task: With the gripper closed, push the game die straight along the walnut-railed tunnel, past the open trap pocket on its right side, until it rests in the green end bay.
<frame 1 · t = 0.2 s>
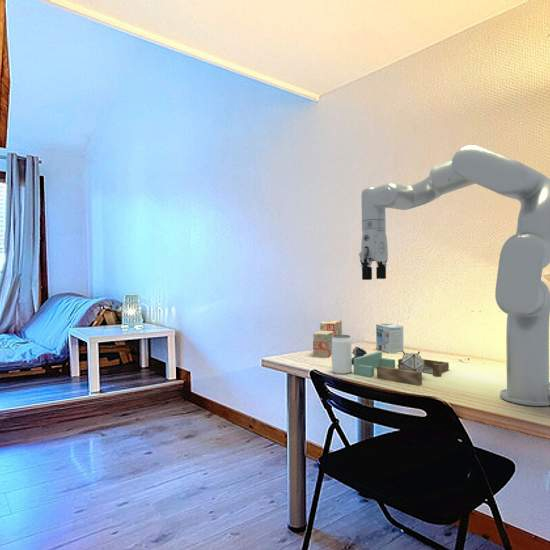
hand: (374, 279, 144), 31 cm above the table, tool pointing down, fingers open, 9 cm apart
snack package: (361, 363, 163), on the table
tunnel: (409, 376, 140), on the table
light bulb box: (389, 351, 183), on the table
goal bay: (375, 371, 148), on the table
stack of blocks: (328, 353, 182), on the table
game die: (412, 377, 139), on the table
can: (341, 372, 148), on the table
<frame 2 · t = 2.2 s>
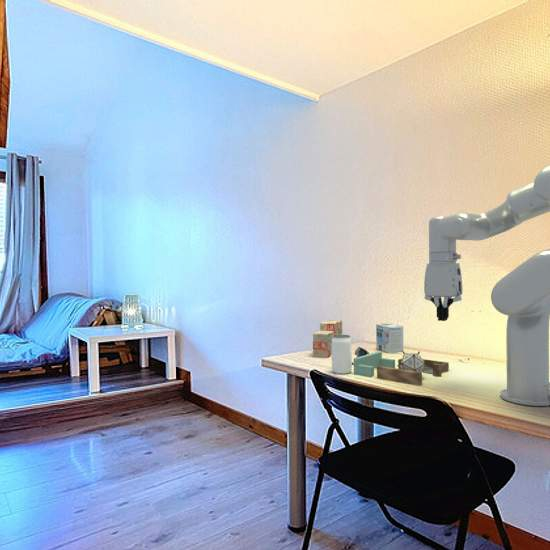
hand: (442, 320, 132), 19 cm above the table, tool pointing down, fingers closed
snack package: (364, 363, 163), on the table
everything else where it was.
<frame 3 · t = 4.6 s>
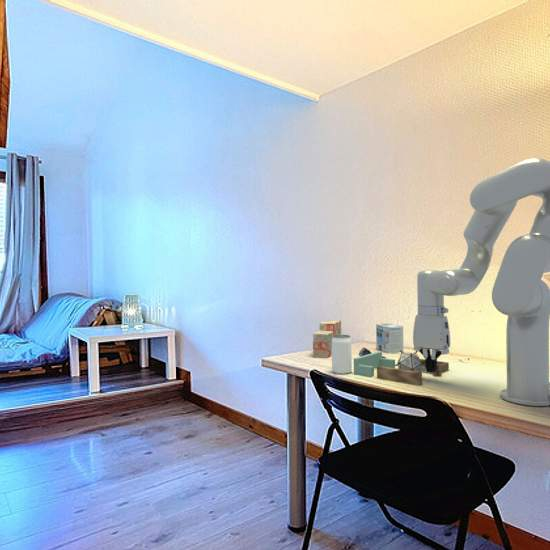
hand: (431, 371, 135), 3 cm above the table, tool pointing down, fingers closed
snack package: (369, 363, 162), on the table
game die: (409, 377, 140), on the table, touching gripper
everything else where it was.
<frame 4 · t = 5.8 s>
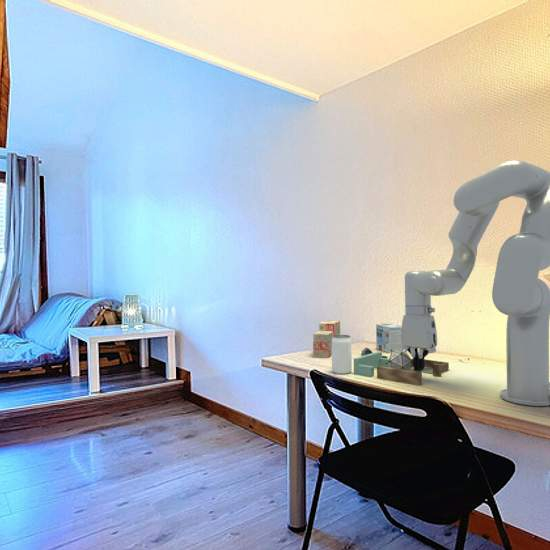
hand: (418, 370, 138), 3 cm above the table, tool pointing down, fingers closed
game die: (400, 375, 143), on the table, touching gripper
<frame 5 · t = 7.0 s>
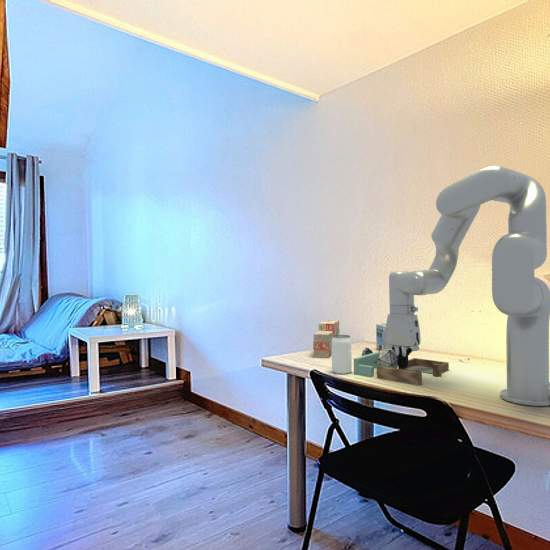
hand: (402, 367, 141), 3 cm above the table, tool pointing down, fingers closed
game die: (388, 372, 146), on the table, touching gripper
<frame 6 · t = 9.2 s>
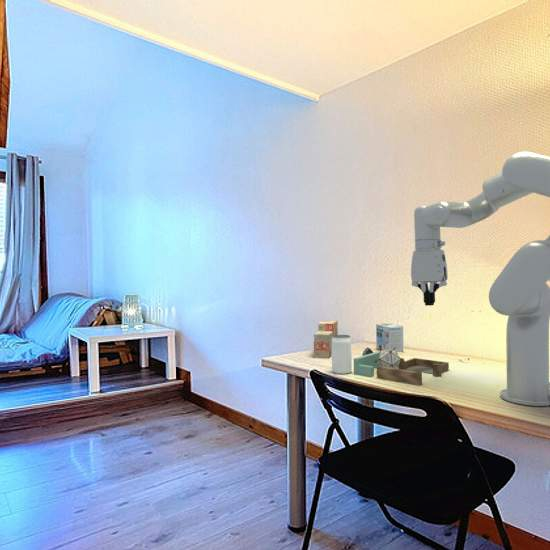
hand: (429, 305, 138), 23 cm above the table, tool pointing down, fingers closed
game die: (388, 373, 146), on the table
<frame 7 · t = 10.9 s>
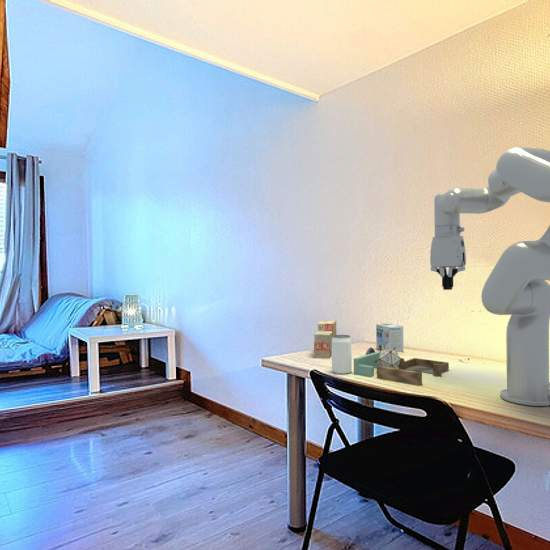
hand: (447, 289, 142), 27 cm above the table, tool pointing down, fingers closed
snack package: (376, 363, 163), on the table
at the end: game die inside the target area on the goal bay (2.1 cm from its centre), point 0.0 cm above the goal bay's base; game die moved 8.9 cm from its start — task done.
